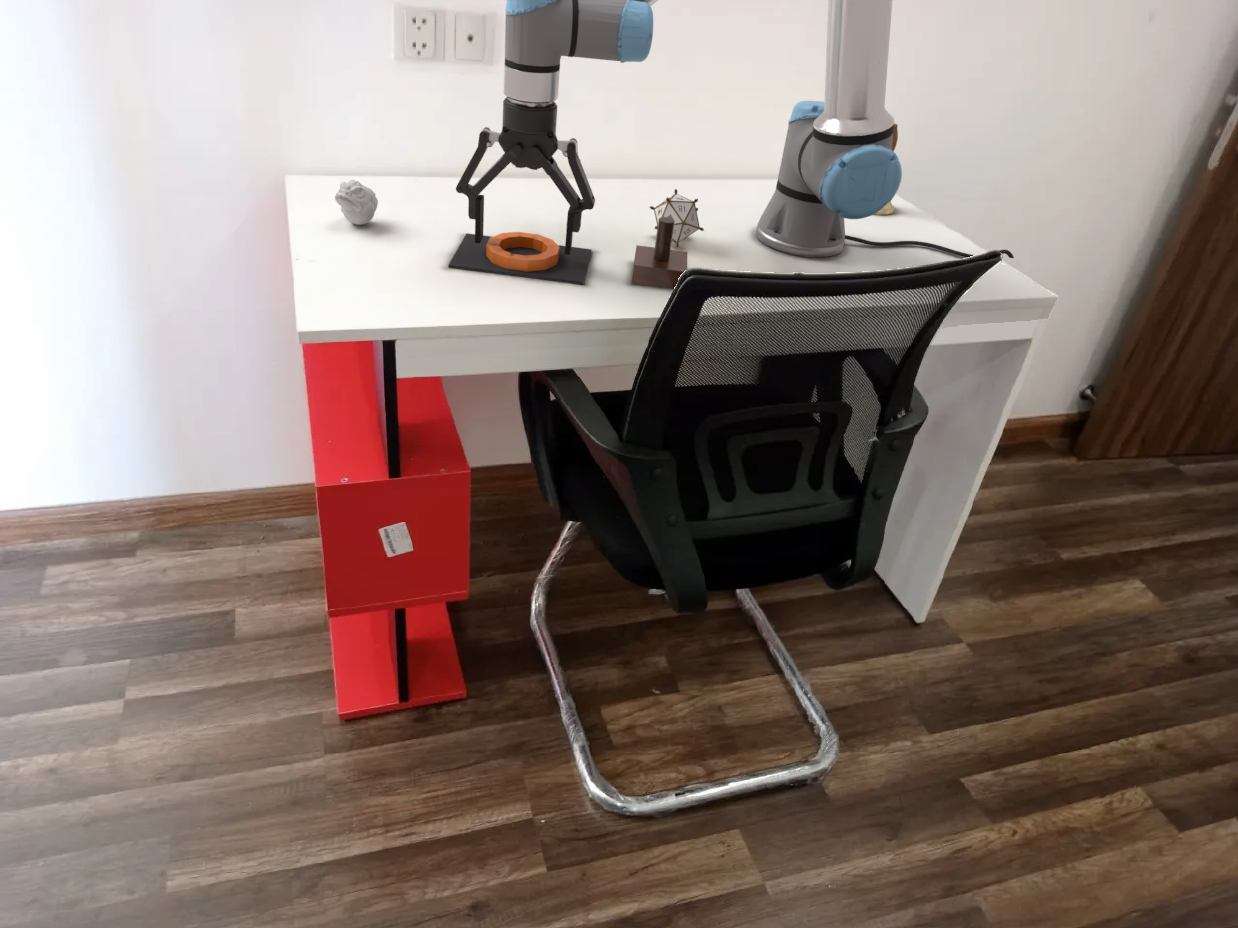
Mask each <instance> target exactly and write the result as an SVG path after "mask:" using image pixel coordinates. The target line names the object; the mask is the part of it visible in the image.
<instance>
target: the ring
mask: <svg viewBox="0 0 1238 928" xmlns="http://www.w3.org/2000/svg"><path fill="white" fill-rule="evenodd" d="M558 245H559V244H557V242H555V240H554V239H552V238H549V237H546V236H544V235H541V234H538V233H530V232H523V231H513V232H512V231H511V232H502V233H499V234H496V235H494V236H491V238H490V239H489V241H488V243H487V245H486V256H487V257H488V258H489V260H490V261H491V262H492V263H493V264H496V265H498V266H501V267H503V268H506V269H510V270H518V271H525V272H529V271H540V270H546V269H548V268H551V267H553V266H555V265H557V262H558V259H559V251H560V247H559V246H558ZM516 247H524V248H531V249H535V250H537V251H540V252H543V253H541V254H538V255H518V254H512V253H510V252H507V251H504V250H505V249H507V248H516Z"/></svg>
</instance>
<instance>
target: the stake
mask: <svg viewBox="0 0 1238 928" xmlns="http://www.w3.org/2000/svg"><path fill="white" fill-rule="evenodd" d="M674 223H675V220H674V219H672V218H668V217H661V218H659V220H658V227H657V229H656V236H655V241H654V242H655V244H654V247H652V246H646V245H645V246H644V245H637V244H636V246H635V253H634V259H633V268H632V276H631V285H637V286H646V287H652V288H662V289H668V290H675V289H674V287H675V286H676V284H677V282H678V278H679V277H680V275H681V274H682V273H683V272H684V271H685V270H687V271H688V255H689V254H688V251H684V250H676V249H672V243H673V241H672V237H673V230H674Z"/></svg>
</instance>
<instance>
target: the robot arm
mask: <svg viewBox="0 0 1238 928" xmlns="http://www.w3.org/2000/svg"><path fill="white" fill-rule="evenodd" d="M657 2H659V0H506V5H505V21H504V22H505V23H504V24H505V25H504V27H505V28H504V29H505V30H504V64H503V65H504V66H503V90H502V91H503V92H502V93H503V95H504V96H505V98H504V99H503V101H502V126H501V131H500V132H497V131H494V130H491V129H490V128H489V127H488V126H485V127H483V128H482V130H481V131H480V133H479V134H478V142H477V147H476V149H475V151H474V152H473V155H472V157H471V159H470V160H469V162H468V164H467V166H466V167H465V169H464V172H463V173H462V175H461V177H460V179H459V181H458V183H457V184H456V186H455V191H456V193H458V194H463V195H464V196H466V197H467V198H468V207H467V208H468V211H467V212H468V213H467V214H468V218H469V220H474V234H475V243H480V242H481V240H482V238H483V236H484V223H485V222H484V216H485V195H484V194H481V193H482V192H483V191H484V190H485V189H486V188H487V187H488V186H489V185H490V184H491V183H492V181H494V180H495V179H496V177H498V176H499V174H500V173H502V172H503V170H504V169H505V168H507V166H509V164H512V166H515V168H518V169H524V168H527V169H530V170H533V171H537V170H539V169H542V170H543V171H544V173H545V174H546V175H547V176H549V178H550V179H551V181H552V182H553V184H554V185H555V186H556V188H557V189H558V191H559V192H560V193H561V195H562V196H563V198H564V199H565V200H566V202H567V203H568V205H569V208H568V211H567V217H566V218H567V219H566V229H565V230H566V231H565V245H564V246H565V254H567V255H570V252H571V248H572V247H573V234H574V233H579V232H580V230H581V227H582V216H583V211H586V210H589V211H590V210H593V209H594V207H595V203H596V198H595V196H594V193H593V189H592V187H591V185H590V182H589V179H588V177H587V175H586V172H585V169H584V166H583V165H582V162H581V159H580V157H579V152H578V151H579V149H578V148H579V147H578V140H577V139H576V138H575V137H572V138H570V139H569V140H559V139H558V137H557V122H558V121H557V120H558V119H557V118H558V105H557V103H556V101H557V100H558V98H559V89H560V88H559V87H560V71H561V59H562V57H568V58H581V59H582V58H583V59H593V60H601V61H604V60H605V61H612V62H620V63H621V64H625V63H632V62H634V63H642V62H644V61H646V60H647V58H648V57H649V54H650V52H651V48H652V42H653V35H654V13H653V8H652V6H653V5H654V4H656V3H657ZM892 9H893V0H827V19H826V20H827V21H826V46H825V48H826V49H825V74H824V75H825V76H824V100H823V101H821V100H802V101H798V102H797V103H796V104H794V106H793V108H792V111H791V114H790V118H789V120H788V123H787V126H788V127H787V131H786V137H785V142H784V146H783V151H782V156H781V157H782V158H781V161H780V166H779V171H778V175H777V176H778V177H777V180H776V185H775V190H774V193H773V194H772V196H771V198H770V199H769V202H768V203H767V205H766V207H765V209H764V210H763V212H762V214H761V216H760V217H759V220H758V222H757V224H756V229H755V236H756V237H757V239H758V240H759V241H760V242H761V243H763V244H764V245H766V246H768V247H769V248H772V249H774V250H777V251H779V252H782V253H786V254H789V255H794V256H801V257H807V258H827V257H832V256H836V255H838V254H841V252H842V251H843V249H844V245H845V242H846V241H847V240H848V241H851V242H856V243H860V244H863V245H866V246H867V245H868V246H873V247H894V246H919V247H925V248H930V249H935V250H939V251H942V252H945V253H948V254H951V255H955V256H959V257H962V258H966V257H970V256H973V255H974V254H971V253H966V252H963V251H959V250H955V249H952V248H949V247H946V246H942V245H938V244H935V243H931V242H926V241H918V240H898V241H896V240H895V241H885V242H884V241H871V240H868V239H864V238H860V237H856V236H851V235H847V234H846V227H845V219H847V220H861V219H866V218H869V217H871V216H874V215H876V214H875V213H877V212H879V211H880V210H881V209H883V207H884V206H885V205H886V204H887V203H889V202H890V201H891V202H892V201H893V199H894V198H895V196H896V194H897V193H898V191H899V188H900V185H901V182H902V177H903V169H902V165H901V161H900V159H899V156H898V155H897V153H896V152H895V151H894V152H893V150H892V143H893V131H894V124H895V118H894V117H893V116H892V114H891V113H890V112H889V111H888V110H887V109H886V107H885V103H886V92H887V91H886V90H887V80H888V79H887V78H888V64H889V52H890V51H889V50H890V40H891V39H890V38H891V24H892V12H893V10H892ZM495 143H498V144H499V146H500V148H501V150H502V151H503V152H504V153H503V154H502V155H501V156H500V157H499V159H498V160H497V161H496V162H495V163H494V164H493V165H492V166H491V167H490V168H489V169H488V170H487V171H486V172H485V173H484V174H483V175H482V176H481V177H480V178H479V179H478V180H477V181H476V182H475V183H474V184H471V183H470V182H471V180H472V178H473V176H474V174H475V172H476V171H477V169H478V167H479V165H480V163H481V161H482V159H483V158H484V156H485V155H486V153H487V150H488V148H492V147H493V146H494V144H495ZM558 150H559V151H560V152H561V154H562V156H563V157H565V158H567V162H568V165H569V168H570V170H571V173H572V175H573V178H574V180H575V183H576V185H577V188H578V191H579V193H580V195H581V197H580V196H579V194H578V193H577V191H576V190H575V188H574V187H573V186H572V185H571V183H570V181H569V180H568V179H567V177H566V175H565V174H564V172H563V171H562V169H561V168H560V167H559V165H558V163H557V161H556V160H555V159H554V157H553V156H554V154H555V153H556V152H557V151H558ZM998 251H999V252H1001V253H1002V254H1001V255H1004V254H1005V255H1006V256H1007V257H1008V258H1010V259H1014V258H1015V256H1014V254H1013V253H1012V252H1011V251H1010V250H1008V249H999V250H998Z"/></svg>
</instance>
